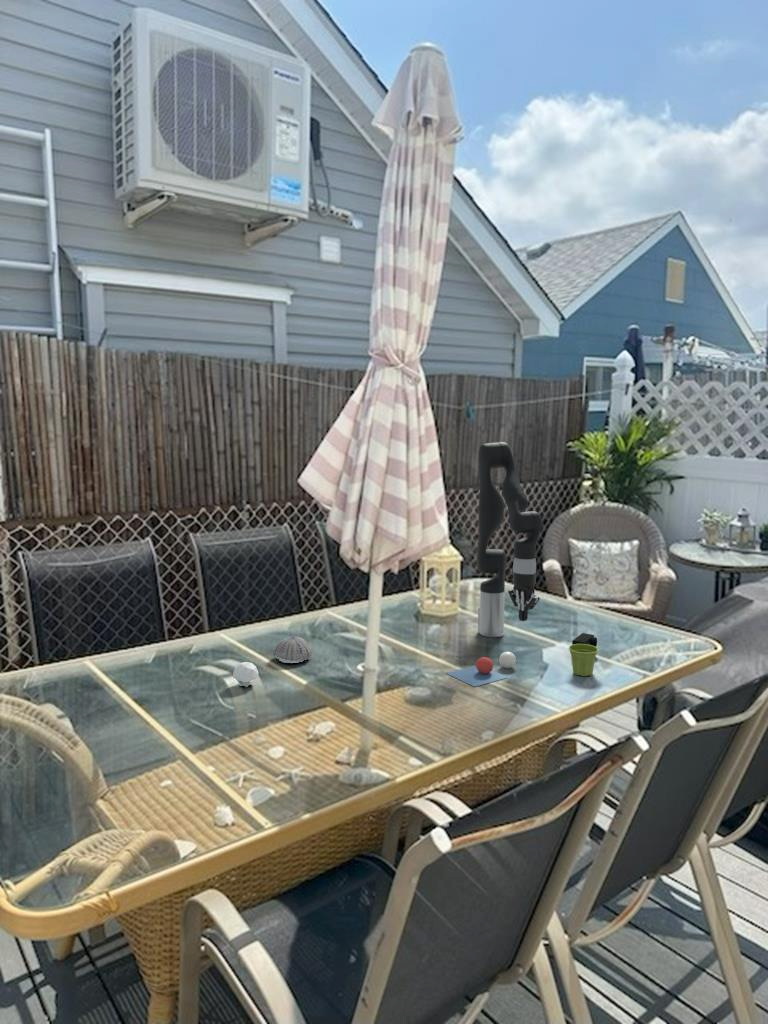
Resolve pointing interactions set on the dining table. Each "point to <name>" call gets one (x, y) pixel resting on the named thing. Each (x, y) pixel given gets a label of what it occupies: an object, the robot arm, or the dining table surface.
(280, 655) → the sea urchin shell
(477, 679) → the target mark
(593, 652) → the plant pot
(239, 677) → the geometric ball
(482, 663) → the red ball
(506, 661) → the cue ball
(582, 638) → the digital camera
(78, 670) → the dining table surface
